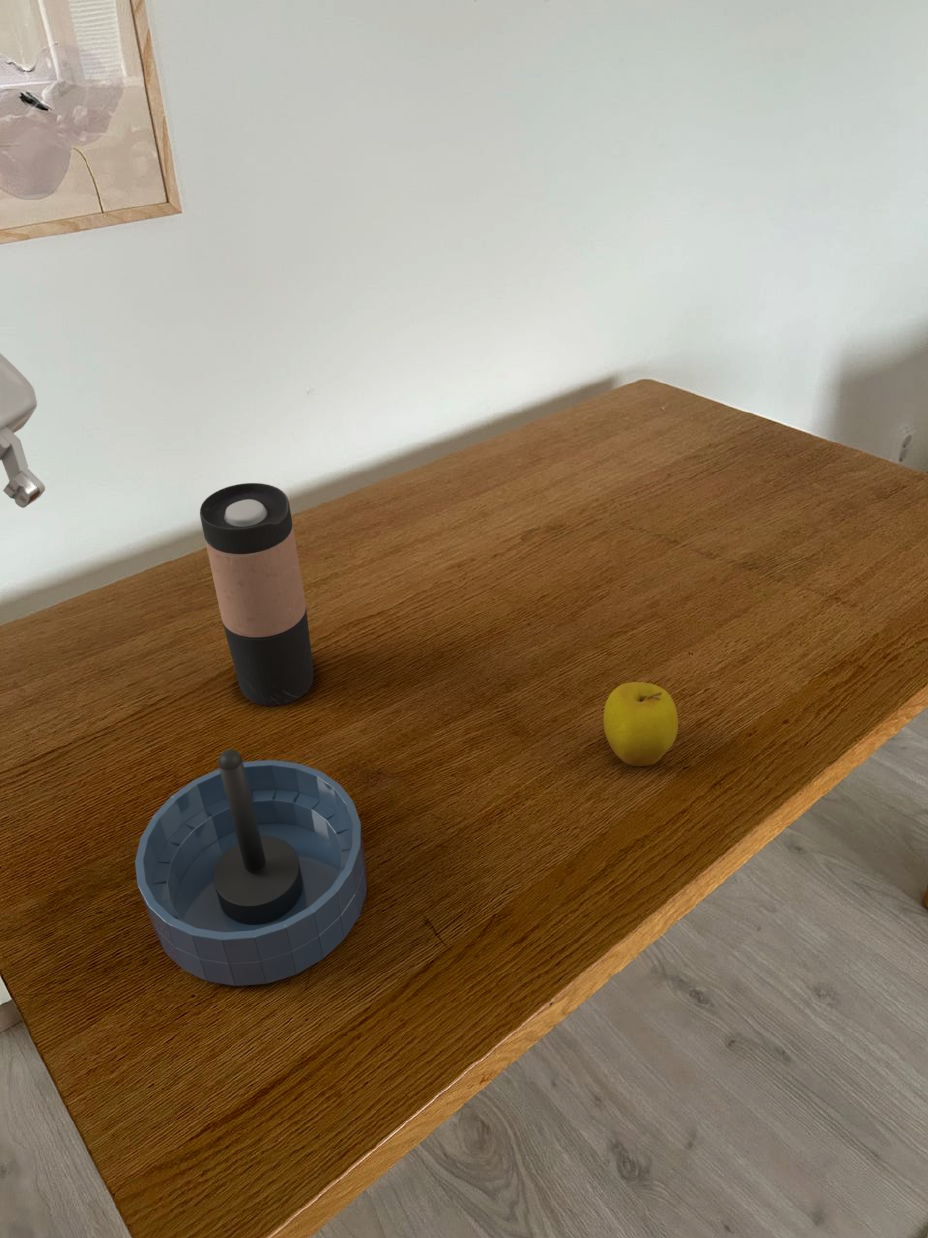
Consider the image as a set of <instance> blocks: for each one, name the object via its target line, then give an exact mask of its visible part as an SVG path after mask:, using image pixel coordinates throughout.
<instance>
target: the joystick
mask: <svg viewBox="0 0 928 1238" xmlns="http://www.w3.org/2000/svg"><path fill="white" fill-rule="evenodd" d="M243 762H244V761H243V757H242V755H241V754H240V753H239V752H238V750H235V749H226V750H224V751H222V752H221V754H220V755H219V756H218V759H217V765H218V769H220V773H221V777H222V781H223V785H224V789H225V792H226V796H227V800H228V804H229V808H230V812H231V816H232V820H233V824H234V828H235V832H236V836H237V840H238V843H237V844H235V845H233V846H232V847H231V848H229V849H228V850H227V851H226V852H225V853H224V854H223V855H222V856H221V858H220V859H219V861H218V863H217V865H216V867H215V871H214V885H215V888H216V892H217V895H218V899H219V902H220V905H221V907H222V909H223V911H224V912H225V913H226V914H227V915H228V916H229V917H230V918H231V919H233V920H235V921H237V922H240V923H243V924H249V925H259V924H265V923H269V922H272V921H275V920H277V919H279V918H280V917H282V916H284V915H285V914H286V913H288V912H289V911H290V910H291V909H292V908H293V907H294V906H295V904H296V903H297V901H298V900H299V898H300V896H301V893H302V889H303V879H302V873H301V868H300V863H299V858H298V856H297V853H296V852H295V850H294V849H293V848H292V847H291V846H290V845H289V844H288V843H286V842H285V841H283V840H281V839H278V838H275V837H268V836H260V834H259V830H258V825H257V821H256V817H255V812H254V808H253V804H252V799H251V795H250V791H249V786H248V782H247V778H246V773H245V769H244V765H243Z"/></svg>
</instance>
